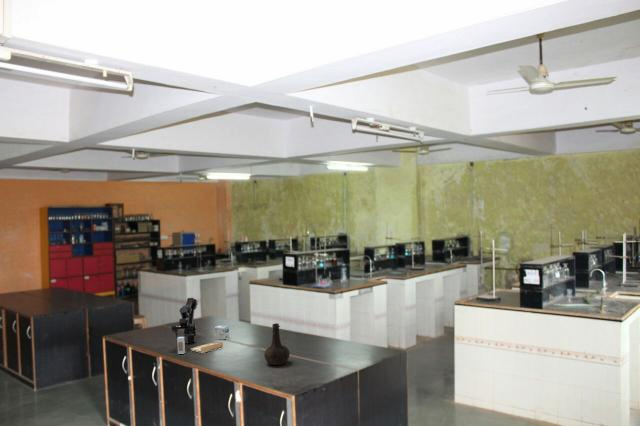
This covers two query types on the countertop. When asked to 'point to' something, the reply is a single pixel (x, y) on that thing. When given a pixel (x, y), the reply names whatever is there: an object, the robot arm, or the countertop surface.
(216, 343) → the price rail
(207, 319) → the countertop surface
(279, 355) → the glass bottle
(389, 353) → the countertop surface
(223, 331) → the light bulb box
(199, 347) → the shelf board
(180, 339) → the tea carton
